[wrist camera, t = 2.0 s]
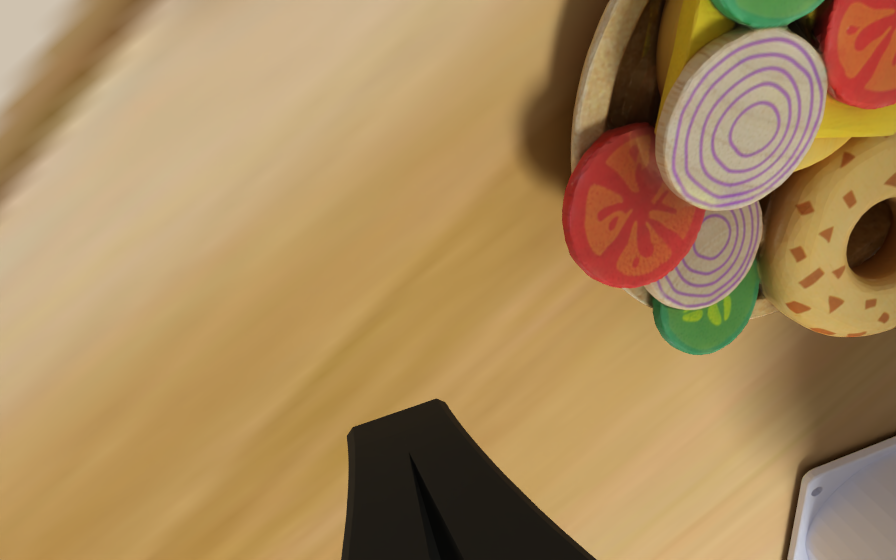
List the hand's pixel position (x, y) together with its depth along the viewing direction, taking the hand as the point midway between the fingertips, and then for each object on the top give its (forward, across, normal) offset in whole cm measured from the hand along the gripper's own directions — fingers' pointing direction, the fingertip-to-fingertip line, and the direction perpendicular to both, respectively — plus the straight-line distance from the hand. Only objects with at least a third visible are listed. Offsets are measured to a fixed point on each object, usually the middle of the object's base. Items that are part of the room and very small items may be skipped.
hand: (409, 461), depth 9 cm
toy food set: (+8, -12, 0) cm, 15 cm away
